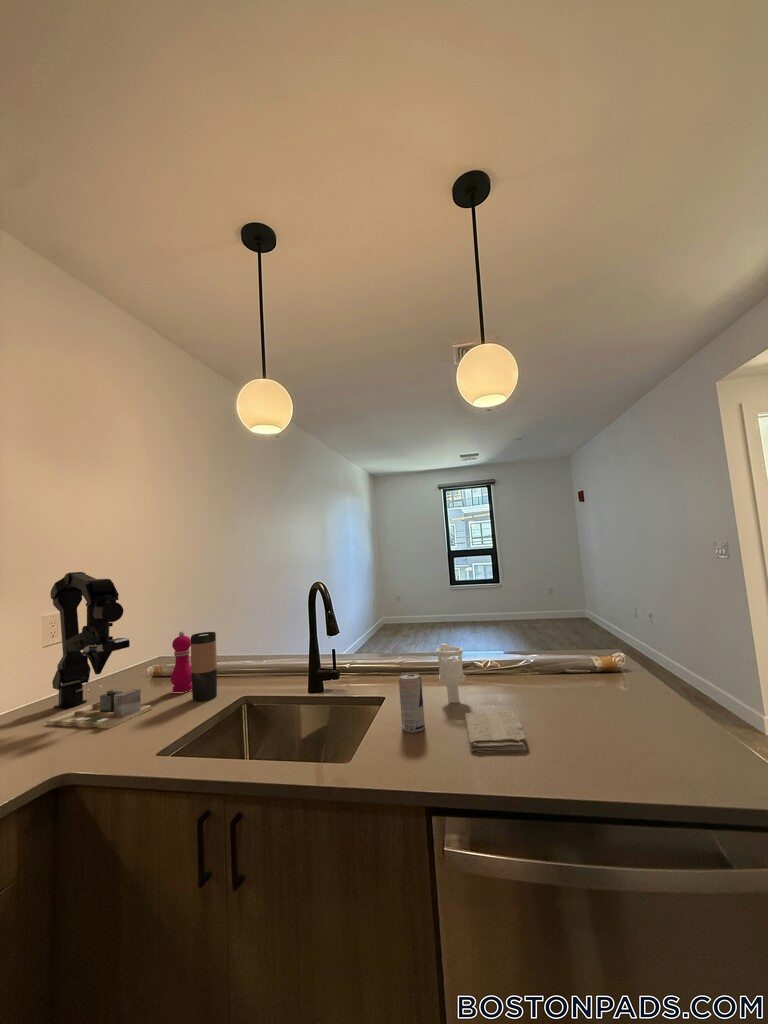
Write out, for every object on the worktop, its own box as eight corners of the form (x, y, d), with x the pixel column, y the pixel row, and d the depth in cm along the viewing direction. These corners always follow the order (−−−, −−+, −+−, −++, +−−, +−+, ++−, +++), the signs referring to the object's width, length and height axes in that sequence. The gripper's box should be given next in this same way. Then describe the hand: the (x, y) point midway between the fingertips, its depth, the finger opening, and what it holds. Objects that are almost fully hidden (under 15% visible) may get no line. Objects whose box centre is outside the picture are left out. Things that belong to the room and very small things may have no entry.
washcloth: (470, 756, 85) (469, 740, 85) (463, 721, 102) (462, 708, 103) (531, 754, 83) (529, 738, 84) (513, 719, 101) (511, 706, 101)
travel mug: (223, 694, 136) (221, 631, 138) (203, 703, 129) (202, 636, 131) (205, 693, 139) (204, 631, 141) (186, 701, 132) (184, 636, 134)
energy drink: (427, 724, 101) (423, 672, 102) (421, 734, 96) (417, 679, 97) (405, 723, 102) (402, 672, 104) (399, 732, 97) (395, 678, 99)
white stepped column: (456, 695, 120) (452, 641, 121) (472, 702, 113) (466, 645, 115) (435, 700, 117) (431, 645, 118) (450, 707, 110) (445, 649, 112)
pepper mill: (185, 694, 140) (184, 632, 142) (166, 694, 141) (165, 633, 143) (198, 687, 147) (197, 629, 149) (180, 687, 148) (179, 629, 150)
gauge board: (46, 725, 120) (47, 698, 120) (93, 707, 133) (93, 683, 134) (109, 728, 113) (109, 700, 114) (151, 709, 126) (151, 684, 127)
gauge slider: (85, 720, 117) (86, 697, 117) (112, 709, 124) (112, 688, 125) (97, 720, 116) (97, 698, 116) (123, 709, 123) (123, 688, 124)
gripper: (47, 626, 123) (46, 681, 121) (96, 625, 117) (96, 683, 116) (85, 620, 133) (84, 670, 132) (130, 618, 128) (131, 671, 126)
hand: (97, 674), depth 126 cm, fingers closed
